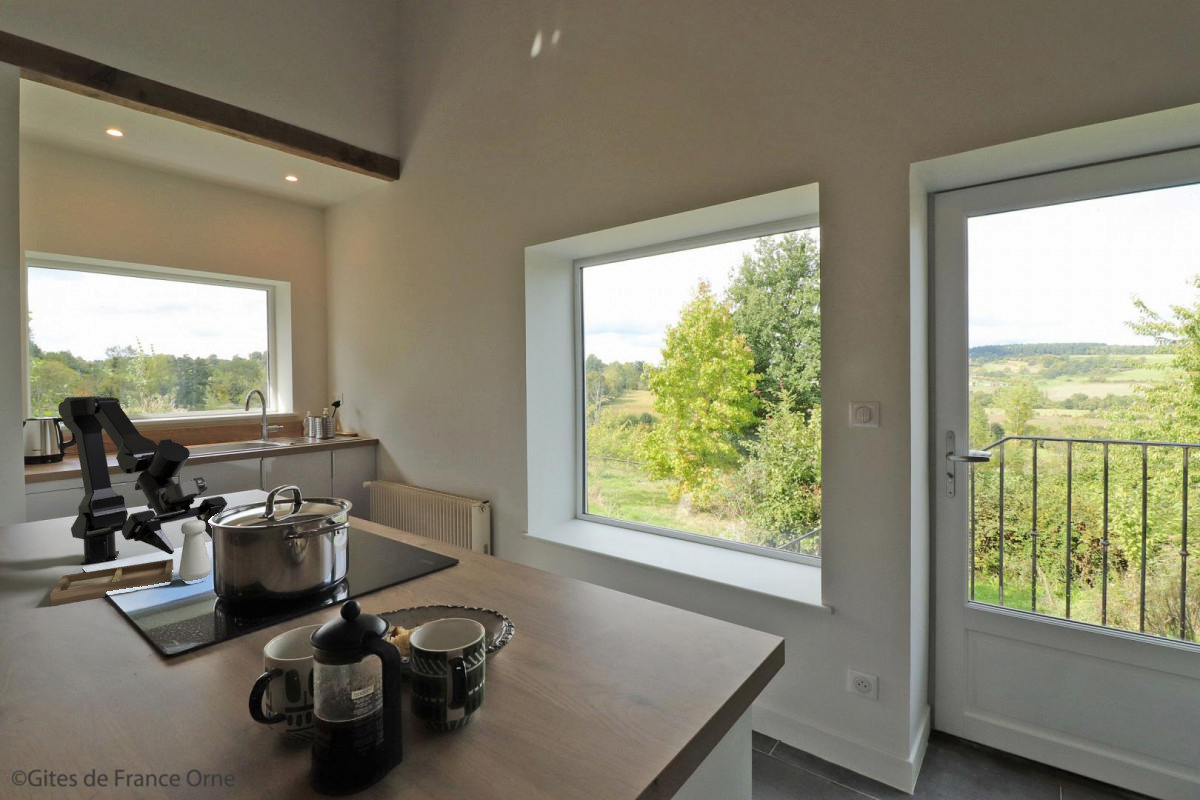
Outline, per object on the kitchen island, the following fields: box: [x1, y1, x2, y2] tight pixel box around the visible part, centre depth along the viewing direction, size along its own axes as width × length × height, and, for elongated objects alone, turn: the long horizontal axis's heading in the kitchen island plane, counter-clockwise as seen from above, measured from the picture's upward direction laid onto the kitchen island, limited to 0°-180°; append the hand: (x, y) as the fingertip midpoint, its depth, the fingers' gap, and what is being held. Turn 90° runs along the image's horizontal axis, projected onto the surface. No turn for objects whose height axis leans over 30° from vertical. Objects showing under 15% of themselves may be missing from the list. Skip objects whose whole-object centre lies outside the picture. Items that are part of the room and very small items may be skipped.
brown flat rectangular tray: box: [50, 558, 174, 607], centre depth 119 cm, size 12×18×2 cm, turn 125°
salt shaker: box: [178, 519, 213, 581], centre depth 122 cm, size 6×6×13 cm
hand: (195, 546), depth 121 cm, fingers open, 9 cm apart
